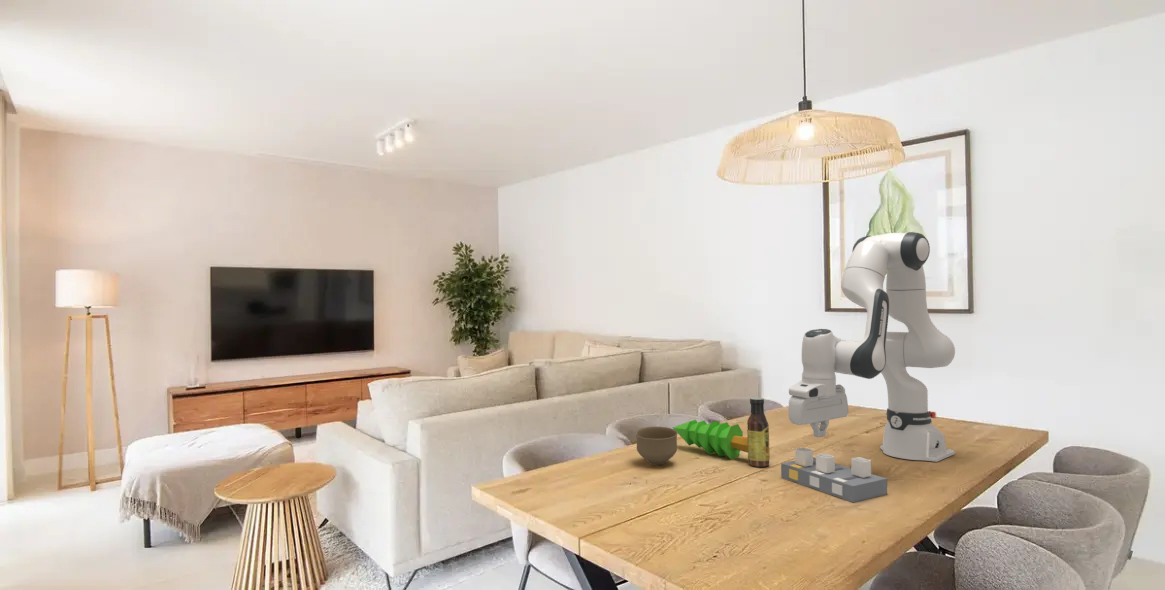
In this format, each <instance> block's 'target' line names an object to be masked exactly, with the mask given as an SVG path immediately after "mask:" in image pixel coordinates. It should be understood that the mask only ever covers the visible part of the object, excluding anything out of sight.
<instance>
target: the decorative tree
mask: <svg viewBox="0 0 1165 590" xmlns="http://www.w3.org/2000/svg"><path fill="white" fill-rule="evenodd" d="M671 429H674V430H676V431H677V433H678V434H677V435H679V436H680V438H682V440H683V441H684V442H685V443H686V444H687V445H688V446H691V445H695V446H696V447H697V448H699V449H700V448H702V449H703V450H704V451H705V452H706V453H707V454H708V455H709V456H710V455H713V454H717V455H718V456H719V457H720V458H721V457H723V456H725V455H726V457H728V459H730V460H733V459H736V458H738V457H739V455H740V453H741V452H745V453H747V454H748V437H747V436H743V435H744V434H743V433H744V432H743V430H742V429H741V427H740V425H739V424H738V423H737V424H734V425H731V426H730V424H729V423H728V421H726V422H723V423H720V421H719V420H716V421H713V422H710V423H709V422H708V423H707V422H706V421H705V420H702V421H697V420H696V419H693V420H689V421H686V422H684V423H681V424H678V425H675V426H673V427H672V428H671Z"/></svg>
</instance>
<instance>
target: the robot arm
mask: <svg viewBox="0 0 1165 590" xmlns="http://www.w3.org/2000/svg"><path fill="white" fill-rule="evenodd" d="M930 248H931V247H930V243H929V240H928V239H927V237H926V235H924V234H922V233H921V232H920V233H919V232H913V231H908V232H888V233H887V232H886V233H881V234H875V235H866V236H863V237H860V238H859V239H857V240H856V241H855V243H854V244H853V246H852V251H851V252H852V253H851V255H850V256H849V259H848V261H847V263H846V266H845V269H844V271H843V275H842V277H841V283H840V284H841V287H840V288H841V291H842V294H843V295H844V296H845V297H846V298H847V299H848V300H849V301H851V302H852V303H853V304H855V305H858V306H859V307H862V308H864V309H866V312H867V313H866V315H867V316H866V324H865V333H864V337H863V338H862V339H861V340H846V339H842V338H840V337H837V336H835V335H834V334H833V331H832V330H831V329H827V328H818V329H811V330H808V331H806V332H805V333H804V335H803V337H802V343H801V364H802V368H803V369H802V374H801V380H799V381H798V382H797V383H795V384H794V385H792V386H790V387H789V388H788V394H789V396H790V398H789V400H788V420H789V421H790V423H792V424H793V425H798V426H803V425H810V427H811V428H812V431H813V437H814V438H821V437H826V435H827V429H828V428H829V425H830V421H831V420H836V419H841V418H847V416H848V414H849V403H848V397H847V394H846V388H845V387H844V386H843V385H842V384H837V375H836V374H837V373H838V374H842V375H849V376H855V377H858V378H859V377H860V378H862V379H868V380H871V379H874V378H876V377H877V376H879V375H880V374H881V375H882V377H883V379H884V380H885V383H886V389H887V403H888V405H887V406H888V407H887V409H886V420H887V423H885V425H884V428H883V430H884V431H883V439H882V444H881V445H880V446H879V449H880V450H882V453H883V454H884V455H887V456H890V457H894V458H898V459H903V460H910V461H927V462H940V461H942V460H944V459H947V458H948V457H951V456H954V455H955V451H954V450H953V449H952V448H951V449H950V448H948V447H947V446H946V437H945V435H944V433H943V432H942V431H940V430H939V429H938V428H937V427H936V426H935V425H934V424H933V423H932V422H933V421H932V419H936V417H937V412H936V411H931V410H929V407H928V406H929V403H928V402H929V401H928V398H929V397H928V395H929V393H928V388H927V386H926V384H924V383H923V382H922V381H921V380H919V379H917V378H915V377H913V376H912V375H910V374H909V373H908V371H907V368H909V367H910V368H923V369H924V368H925V369H935V368H944V367H947V366H949V365H950V364H951V363H952V362H953V361H954V358H955V354H956V348H955V345H954V343H953V341H952V340H951V339H950V338H949V336H947V335H945V334H944V333H943V332H941V331H940V330H939V329H938V328H937V327H936V326H935V324H934V323H933V321H932V320H931V317H930V314H929V312H928V304H927V286H926V275H925V270H924V265H925V264H926V262H927V260H928V258H929V256H930V251H931V249H930ZM885 278H886V279H885ZM885 280H886V282H885ZM884 282H885V286H886V287H885V288H886V289H885V290H884ZM889 316H890V317H891V318H892V319H894V320H896V321H897V322H900V323H902V324H903V325H905V327H906V328H907V332H905V331H903V332H902V331H888V324H889V323H888V322H889Z"/></svg>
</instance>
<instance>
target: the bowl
mask: <svg viewBox="0 0 1165 590" xmlns="http://www.w3.org/2000/svg"><path fill="white" fill-rule="evenodd" d="M678 435H679V434H678V433H677V431H676V430H674V429H673V428H670V427H667V426H666V427H665V426H646V427H642V428H639V429H637V430H636V431H635V437H636V450H637V452H638V455H640V456H641V458H642V459H644V460H646V461H647V462H648V463H649V464H650V465H652V466H662V465H665V464H666V463H667V462H668V461H669V460H671V459H672V458H673V457H674V456H675V454H676V453H677V451H678Z"/></svg>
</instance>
